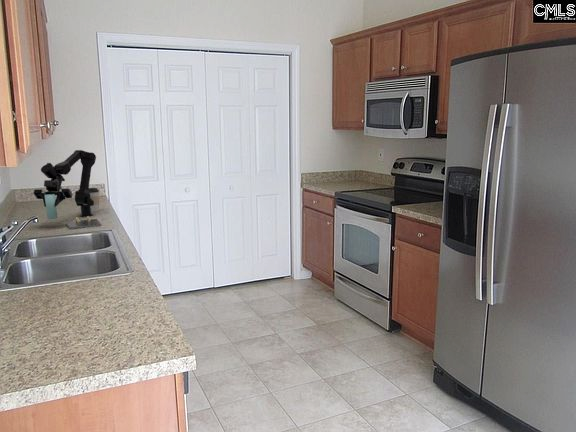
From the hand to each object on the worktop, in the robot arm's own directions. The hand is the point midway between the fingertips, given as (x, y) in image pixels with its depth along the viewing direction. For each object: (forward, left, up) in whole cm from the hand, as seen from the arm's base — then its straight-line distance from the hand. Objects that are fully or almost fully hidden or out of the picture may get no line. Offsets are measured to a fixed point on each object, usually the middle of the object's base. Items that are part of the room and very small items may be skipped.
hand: (50, 206), depth 253 cm
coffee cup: (-42, +27, -12) cm, 51 cm away
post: (-1, +1, -7) cm, 7 cm away
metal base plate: (+1, +16, -12) cm, 20 cm away
